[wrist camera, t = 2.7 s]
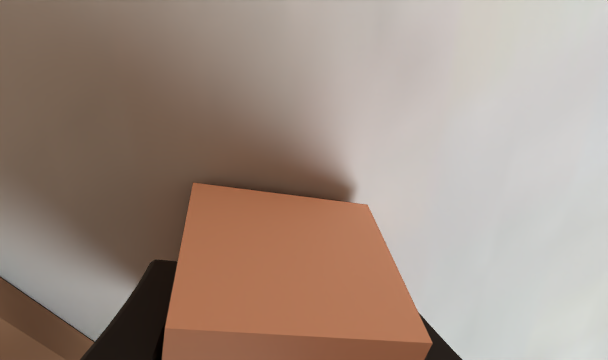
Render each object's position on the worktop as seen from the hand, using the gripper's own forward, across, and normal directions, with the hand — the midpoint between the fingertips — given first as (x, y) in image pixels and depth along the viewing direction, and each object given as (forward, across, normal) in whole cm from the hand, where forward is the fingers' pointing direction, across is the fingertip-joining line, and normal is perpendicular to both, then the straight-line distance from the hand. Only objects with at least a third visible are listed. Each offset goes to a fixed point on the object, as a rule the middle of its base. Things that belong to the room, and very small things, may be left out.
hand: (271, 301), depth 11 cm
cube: (+1, 0, 0) cm, 1 cm away
